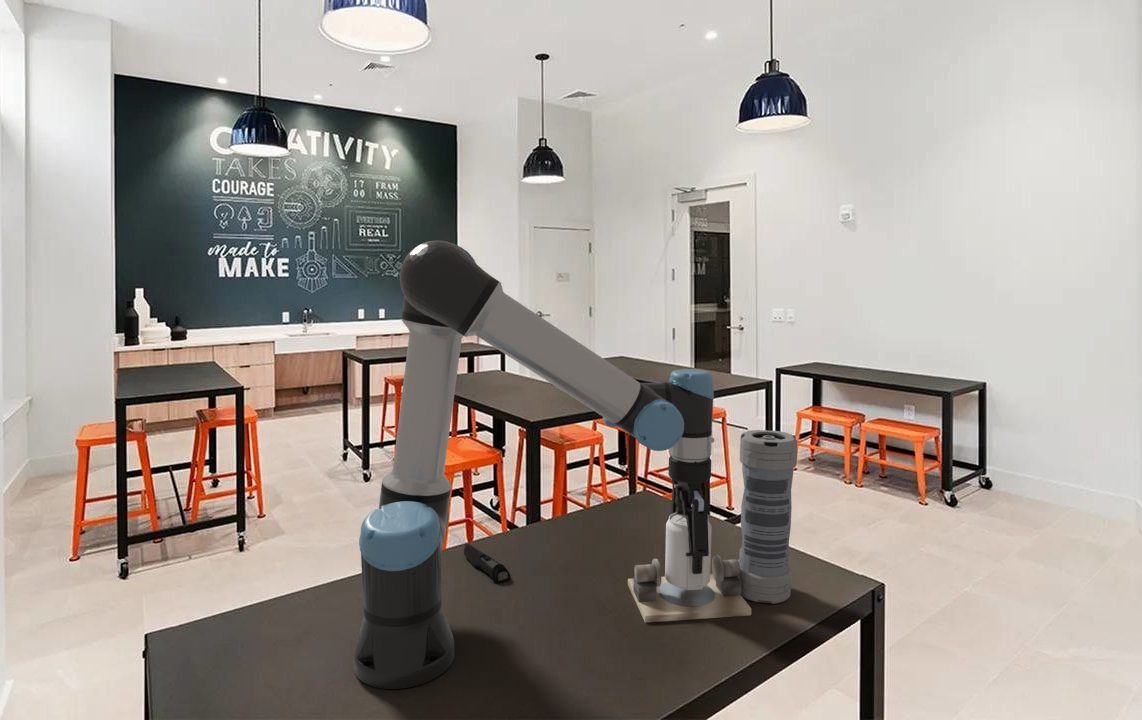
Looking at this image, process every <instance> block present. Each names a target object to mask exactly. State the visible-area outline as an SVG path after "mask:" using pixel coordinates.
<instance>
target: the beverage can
mask: <svg viewBox="0 0 1142 720" xmlns="http://www.w3.org/2000/svg"><path fill="white" fill-rule="evenodd" d="M670 514H671V513H670ZM708 543H709V556H704V563H703V587H704V586H706V585H707V584H708V583H709V582H710V574H711V566H712V525H711V523H710V519H709V518H708ZM686 553H689V541H688V525H687V520H686V516H685V515H684V514H678V515H677V512H676V513H673V514H671V515H669V516H668V520H667V521H666V523H665V557H664V558H665V559H664V560H665V561H664V563H665V564H664V565H665V567H664V577H665V578H666V580H667V581H668V582H669V583H670V584H672V585H674V586H676V587H679V588H682V589H687V556H686Z"/></svg>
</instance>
